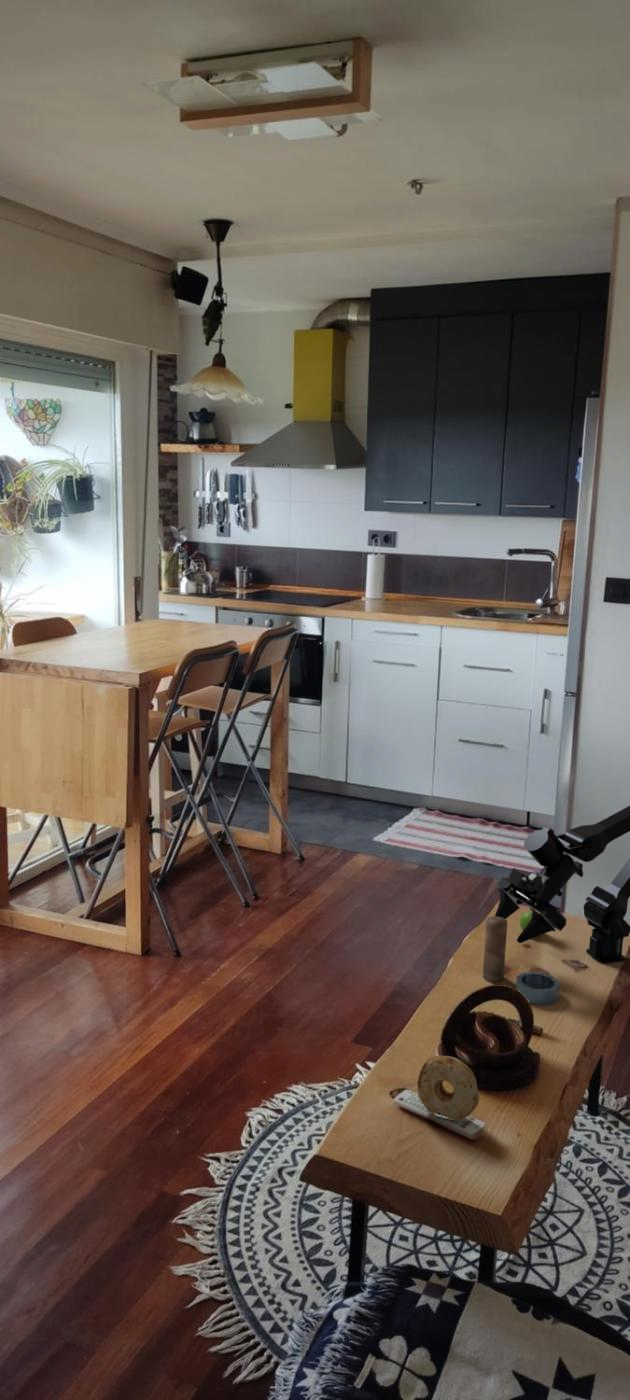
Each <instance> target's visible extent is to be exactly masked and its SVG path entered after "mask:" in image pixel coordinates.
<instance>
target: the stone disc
mask: <svg viewBox="0 0 630 1400" xmlns="http://www.w3.org/2000/svg"><path fill="white" fill-rule="evenodd" d="M417 1079H418V1080H417V1083H416V1084H417V1096H418V1098H419V1100H420V1102H421V1103H422V1105H423V1106H424V1108H425V1109H426V1110H427V1111H428V1112H429V1113H430V1112H431V1113H430V1114H432V1113H436V1114H439V1115H442V1116H445V1117H448V1118H450V1119H453V1120H452V1121H454V1120H455V1122H456V1120H457V1121H462V1120H464V1119H467V1117H469V1116H470V1115H471V1114H472V1113H474V1111H475V1110H476V1108H477V1107H478V1104H479V1102H480V1095H479V1090H478V1084H477V1079H476V1077H475V1074H474V1072H473V1071H472V1070H471V1068H470V1067H469V1066H468V1065H467V1064H466V1063H464V1062H463V1061H461V1060H460V1059H458V1058H456V1057H454V1056H449V1055H436V1056H431V1057H430V1058H428V1059H426V1060H425V1062H424V1063H423V1065H422V1066H421V1069H420V1071H419V1074H418V1078H417ZM443 1082H447V1083H449V1085H451V1086H452V1087H453V1091H448V1090H446V1089H445V1087H444V1085H443Z"/></svg>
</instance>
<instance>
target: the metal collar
mask: <svg viewBox="0 0 630 1400" xmlns="http://www.w3.org/2000/svg"><path fill="white" fill-rule="evenodd" d="M516 989H517V990H519V991H520V992H521V993H522V994H524V995H525V997H526V998H527V999H528V1000H529V1002H530V1003H531V1004H530V1003H529V1004H530V1005H536V1006H548V1005H553V1004H555V1003H557V1001H559V995H560V994H559V993H560V981H559V980H558V979H557V978H555V977H554V976H552V975H549V974H547V973H544V972H539V971H527V972H522V973H520V974H518V975H517V976H516V981H515V990H516Z"/></svg>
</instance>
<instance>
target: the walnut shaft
mask: <svg viewBox="0 0 630 1400" xmlns="http://www.w3.org/2000/svg"><path fill="white" fill-rule="evenodd" d="M485 921H486V922H485V933H484V934H485V937H484V951H483V964H482V965H483V966H482V969H483V970H482V978H483V980H485V981H487V982H490V983H501V982H503V981H504V978H505V962H506V948H507V947H506V946H507V934H508V933H507V932H508V919H507V918H506V919H504V918H502V917H495V916H489V917H487V918H486V920H485Z"/></svg>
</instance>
